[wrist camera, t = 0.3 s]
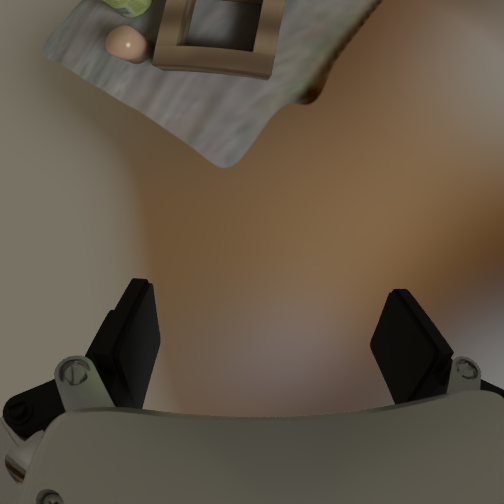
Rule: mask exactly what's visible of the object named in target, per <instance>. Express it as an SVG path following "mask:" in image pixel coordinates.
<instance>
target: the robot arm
mask: <svg viewBox="0 0 504 504" xmlns="http://www.w3.org/2000/svg"><path fill="white" fill-rule="evenodd" d="M159 346H160V332H159V325H158V318H157V312H156V304H155V297H154V289H153V285H152V284H151V283H149V282H148V280H147V279H137V278H133V279H132V280H131V282H130V284H129V285H128V287H127V289H126V290H125V292H124V294H123V295H122V297H121V299H120V301H119V302H118V304H117V306H116V308H115V310H110V311H109V313H108V314H107V316H106V318H105V320H104V321H103V323H102V325H101V327H100V329H99V331H98V332H97V334H96V336H95V338H94V340H93V342H92V344H91V345H90V347H89V349H88V351H87V353H86V355H85V357H84V356H71V357H68V358H65V359H63V360H62V361H61V362H60V363H59V364H58V365H57V367H56V369H55V373H54V376H55V379H54V380H51V381H49V382H47V383H44V384H42V385H39V386H37V387H35V388H33V389H30V390H28V391H25V392H23V393H20V394H18V395H15V396H13V397H12V398H10V399H9V400H8V401H7V402H6V404H5V406H4V409H3V416H2V417H1V418H0V504H504V390H503V389H501V388H499V387H496V386H494V385H492V384H490V383H488V382H486V381H484V380H482V379H481V371H480V368H479V366H478V365H477V364H476V363H475V362H474V361H473V360H471V359H470V358H467V357H462V356H459V357H456V358H455V359H454V360H452V359H451V357H452V355H453V353H454V352H453V350H452V349H451V347H450V346H449V344H448V343H447V342H446V340H445V339H444V337H443V336H442V335H441V333H440V332H439V330H438V329H437V328H436V326H435V325H434V323H433V322H432V321H431V319H430V318H429V317H428V315H427V314H426V313H425V311H424V310H423V309H422V307H421V306H420V305H419V304H418V302H417V301H416V300H415V298H414V297H413V296H412V295H411V293H410V292H409V291H408V290H407V289H394V290H393V291H392V292H391V293H389V295H388V297H387V300H386V303H385V306H384V308H383V311H382V314H381V316H380V319H379V322H378V324H377V327H376V329H375V332H374V334H373V337H372V339H371V343H370V347H371V350H372V353H373V355H374V357H375V359H376V361H377V364H378V366H379V368H380V370H381V372H382V375H383V377H384V379H385V381H386V384H387V386H388V388H389V391H390V393H391V395H392V398H393V400H394V402H395V405H390V406H384V407H379V408H372V409H365V410H358V411H350V412H342V413H333V414H321V415H308V416H289V417H228V416H227V417H226V416H209V415H195V414H182V413H172V412H163V411H155V410H145V409H142V407H143V403H144V399H145V395H146V392H147V388H148V385H149V381H150V378H151V374H152V370H153V367H154V363H155V360H156V357H157V353H158V350H159Z"/></svg>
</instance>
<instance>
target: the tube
mask: <svg viewBox="0 0 504 504" xmlns="http://www.w3.org/2000/svg"><path fill="white" fill-rule="evenodd" d="M102 1H104V2H105V3H107V4H108V5H109V6H111V7H112V8H113V9H115V10H116V11H118V12H119V13H120V14H122V15H123V16H125V17H136V16H139V15H141V14H143V13H144V12H145V11H146V10H147V9H148V8H149V7H150V5H151V3H152V0H102Z"/></svg>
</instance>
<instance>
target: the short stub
mask: <svg viewBox="0 0 504 504" xmlns="http://www.w3.org/2000/svg"><path fill="white" fill-rule="evenodd" d="M105 48H106V50H107V52H108V53H110V54H112V55H114V56H117V57H119V58H121V59H124V60H126V61H129V62H131V63H134V64H139V63H142V62H144V61H146V60H147V59H148V58H149V57H150V56H151V54H152V51H153V45H152V43H151V41H150V40H148V39H147V38H146V37H144V36H143V35H142V34H140V33H139V32H137V31H136V30H135V29H133V28H132V27H130V26H127V25H122V26H119V27H116V28H115V29H113V30H112V31H111V32H110V33H109V34H108V36H107V38H106V40H105Z"/></svg>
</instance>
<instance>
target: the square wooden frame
mask: <svg viewBox="0 0 504 504" xmlns="http://www.w3.org/2000/svg"><path fill="white" fill-rule="evenodd" d="M223 1H235V2H244V3H252V4H259V5H262V9H261V14H260V19H259V24H258V29H257V34H256V39H255V44H254V50H253V52H248V51H241V50H232V49H223V48H211V47H196V46H186V41H187V36H188V32H189V27H190V23H191V19H192V14H193V10H194V6H195V2H196V0H166V4H165V8H164V11H163V15H162V19H161V24H160V28H159V32H158V37H157V41H156V46H155V51H154V56H153V62H152V65H154V66H156V67H158V68H160V69H161V70H170V71H191V72H205V73H216V74H226V75H234V76H242V77H249V78H256V79H262V80H268V79H269V78H270V76H271V74H272V69H273V63H274V58H275V52H276V47H277V41H278V36H279V30H280V25H281V20H282V14H283V9H284V4H285V0H223Z"/></svg>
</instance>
